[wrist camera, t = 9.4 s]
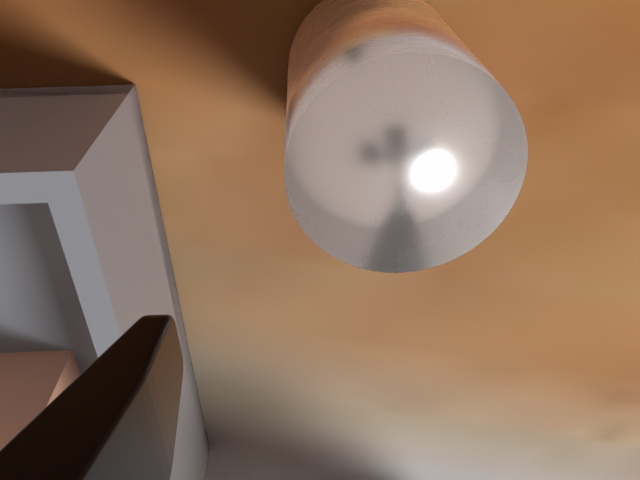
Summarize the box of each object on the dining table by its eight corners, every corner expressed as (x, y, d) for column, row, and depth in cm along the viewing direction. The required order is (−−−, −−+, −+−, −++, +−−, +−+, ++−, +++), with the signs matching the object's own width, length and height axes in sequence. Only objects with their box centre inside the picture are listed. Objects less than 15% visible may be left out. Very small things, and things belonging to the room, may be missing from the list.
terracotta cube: (102, 433, 26) (63, 546, 22) (-13, 438, 26) (-74, 551, 22) (72, 350, 23) (21, 461, 19) (-57, 355, 23) (-136, 466, 19)
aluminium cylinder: (445, 142, 19) (509, 266, 14) (293, 149, 19) (292, 278, 14) (459, -23, 17) (546, 46, 11) (282, -14, 17) (274, 58, 11)
